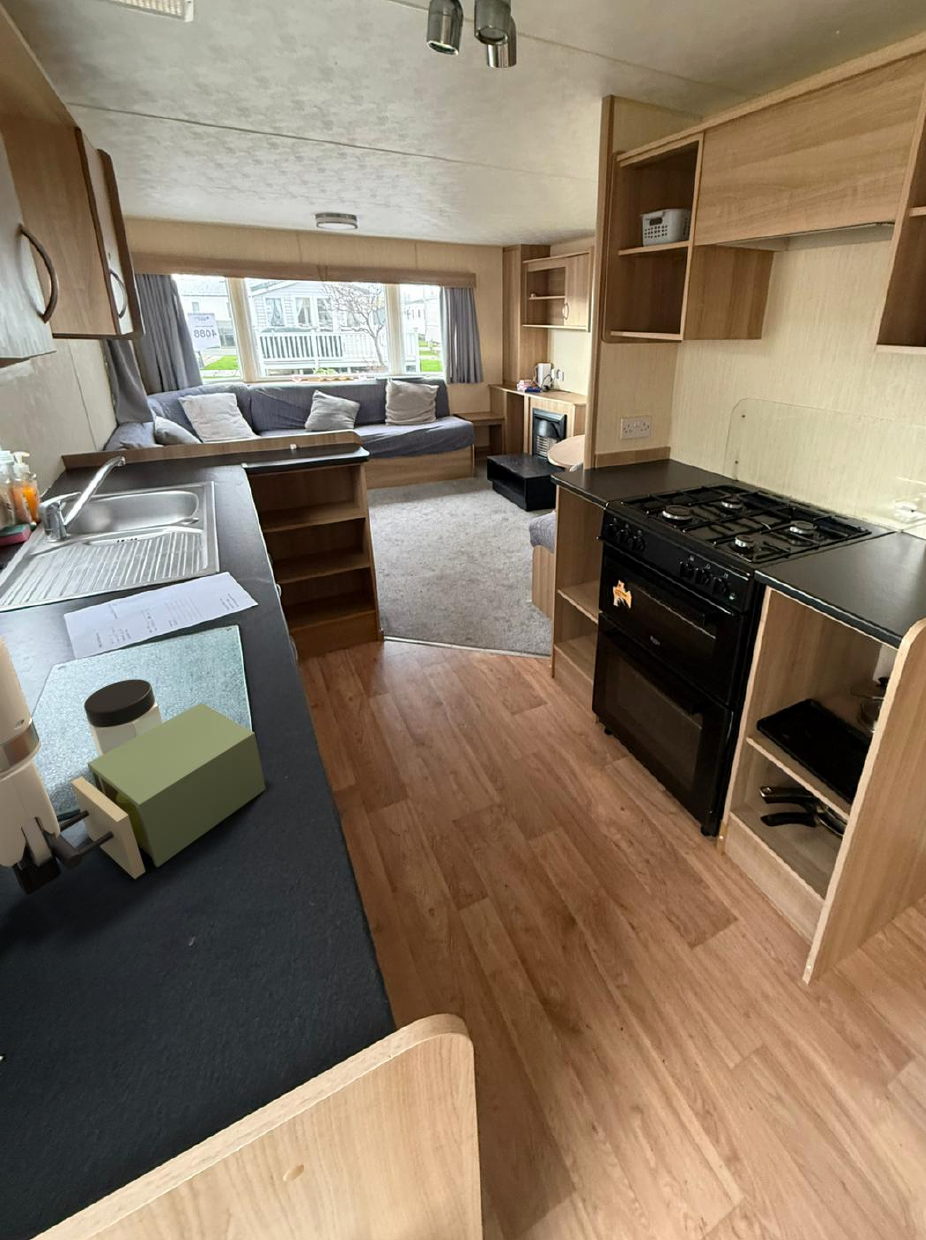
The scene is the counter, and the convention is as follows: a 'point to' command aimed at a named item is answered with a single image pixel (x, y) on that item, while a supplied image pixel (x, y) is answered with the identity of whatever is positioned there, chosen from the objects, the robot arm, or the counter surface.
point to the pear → (131, 816)
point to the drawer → (101, 829)
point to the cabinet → (184, 776)
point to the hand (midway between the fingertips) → (41, 881)
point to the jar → (121, 713)
